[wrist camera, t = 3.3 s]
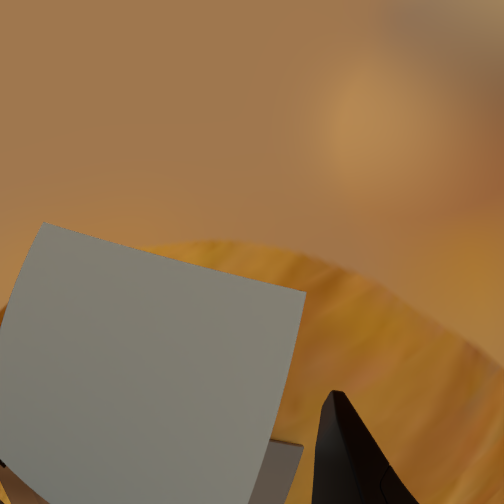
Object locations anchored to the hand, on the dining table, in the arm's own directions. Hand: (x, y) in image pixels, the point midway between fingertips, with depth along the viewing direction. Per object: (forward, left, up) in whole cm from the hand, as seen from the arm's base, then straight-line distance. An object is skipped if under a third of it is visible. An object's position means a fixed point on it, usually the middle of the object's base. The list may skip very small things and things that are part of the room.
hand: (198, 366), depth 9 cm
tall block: (-1, -1, -7) cm, 7 cm away
